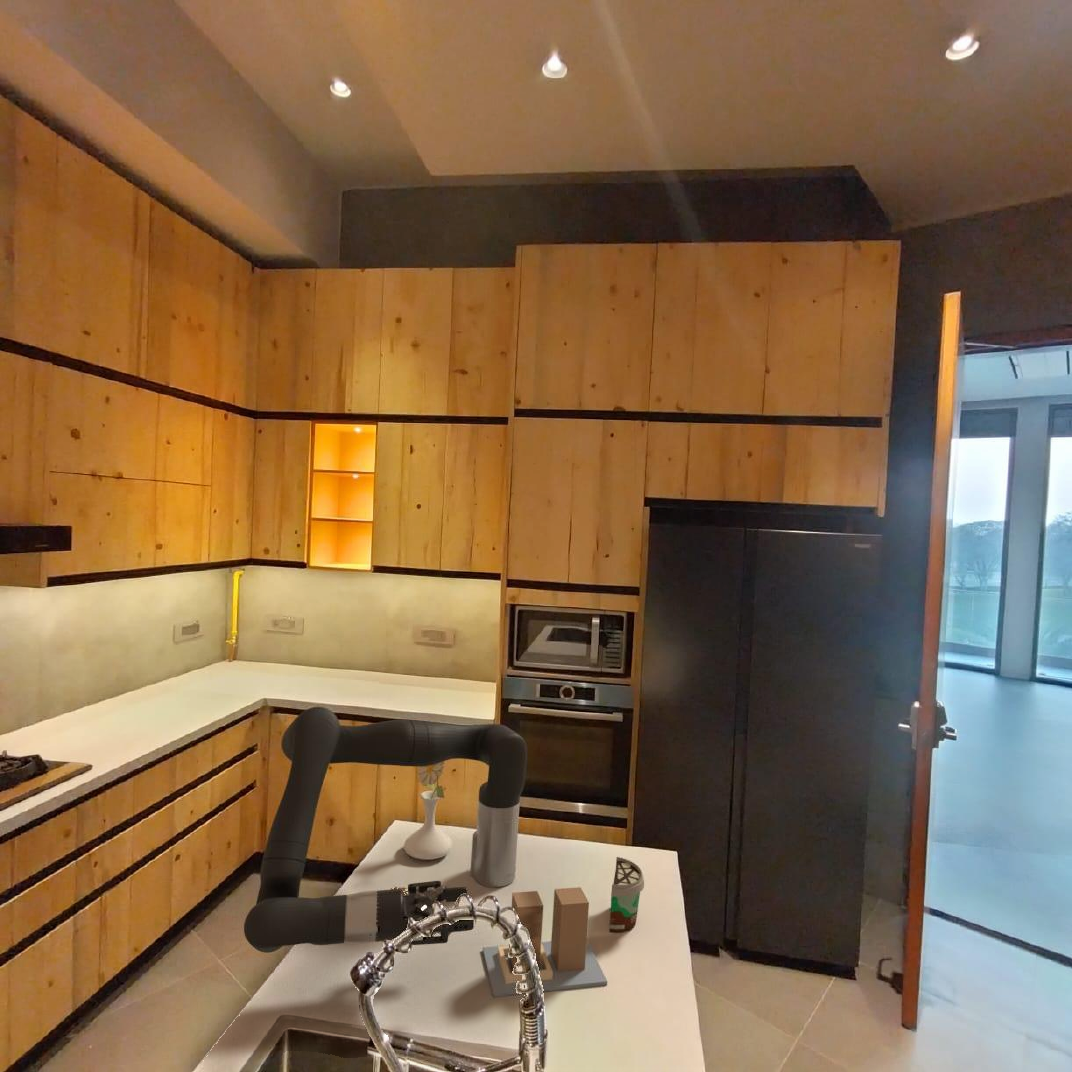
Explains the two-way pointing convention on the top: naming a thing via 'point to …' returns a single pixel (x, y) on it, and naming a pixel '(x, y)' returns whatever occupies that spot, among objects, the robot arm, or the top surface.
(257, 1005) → the top surface
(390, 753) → the robot arm
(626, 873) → the food container
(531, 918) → the walnut pillar
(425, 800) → the flower in vase
